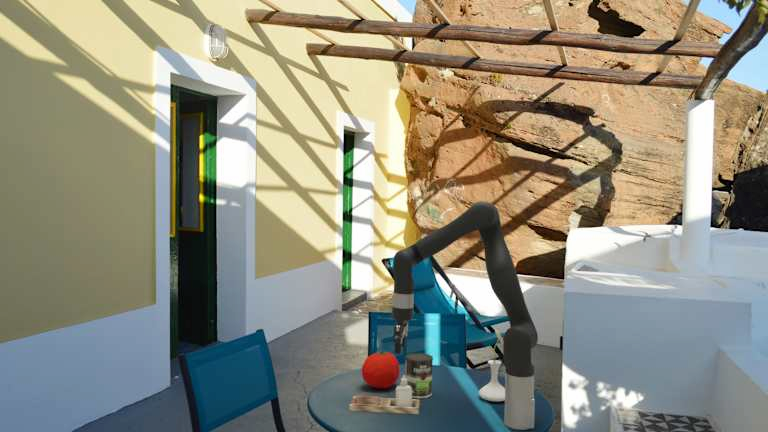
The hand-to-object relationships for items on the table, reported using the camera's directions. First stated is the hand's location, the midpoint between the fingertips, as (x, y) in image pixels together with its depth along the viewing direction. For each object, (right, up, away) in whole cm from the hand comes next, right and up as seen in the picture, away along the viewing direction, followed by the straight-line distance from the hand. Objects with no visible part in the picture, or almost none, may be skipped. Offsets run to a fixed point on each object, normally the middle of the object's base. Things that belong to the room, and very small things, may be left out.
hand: (399, 350), depth 216 cm
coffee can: (+7, -19, +12) cm, 24 cm away
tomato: (-7, -19, +19) cm, 27 cm away
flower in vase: (+35, -20, +9) cm, 41 cm away
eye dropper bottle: (+1, -20, -3) cm, 20 cm away
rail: (-5, -20, -2) cm, 21 cm away
